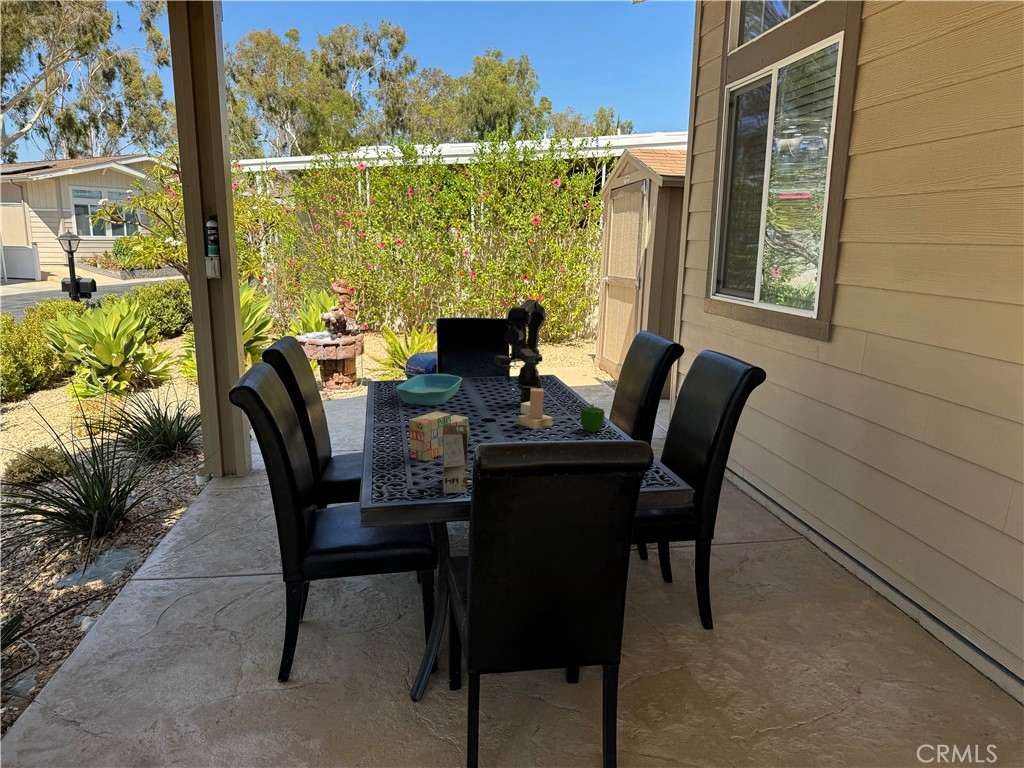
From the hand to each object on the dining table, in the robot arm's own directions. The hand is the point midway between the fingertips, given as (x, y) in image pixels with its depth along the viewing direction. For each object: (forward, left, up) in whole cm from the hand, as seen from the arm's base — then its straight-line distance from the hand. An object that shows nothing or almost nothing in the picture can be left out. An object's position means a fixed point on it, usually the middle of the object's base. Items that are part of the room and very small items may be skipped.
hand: (518, 381), depth 250 cm
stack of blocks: (+47, +26, -13) cm, 55 cm away
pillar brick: (+3, +16, -10) cm, 19 cm away
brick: (-5, +1, -13) cm, 14 cm away
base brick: (+3, +16, -14) cm, 21 cm away
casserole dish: (+16, -42, -14) cm, 47 cm away
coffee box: (+58, +56, -13) cm, 82 cm away
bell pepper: (-10, +32, -13) cm, 36 cm away
